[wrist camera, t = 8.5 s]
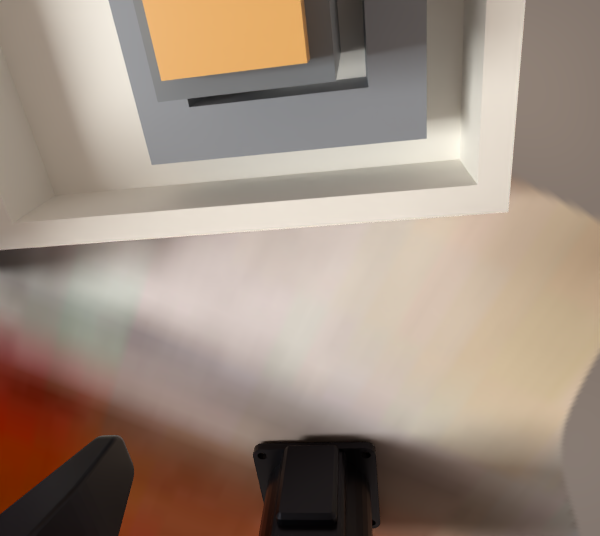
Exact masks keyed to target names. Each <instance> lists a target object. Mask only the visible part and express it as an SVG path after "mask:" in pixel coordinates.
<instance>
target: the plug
mask: <svg viewBox="0 0 600 536" xmlns="http://www.w3.org/2000/svg"><path fill="white" fill-rule="evenodd" d="M133 4H134V8H135V12H136V16H137V20H138V24H139V28H140V32H141V36H142V40H143V44H144V48H145V52H146V56H147V60H148V64H149V68H150V73H151V77H152V81H153V85H154V89H155V93H156V97H157V101H158V102H165V101H173V100H182V99H190V98H199V97H207V96H216V95H224V94H233V93H241V92H250V91H258V90H267V89H275V88H284V87H292V86H300V85H309V84H317V83H326V82H334V81H336V78H337V73H338V67H339V62H340V56H341V45H340V32H339V20H338V7H337V0H133Z"/></svg>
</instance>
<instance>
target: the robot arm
mask: <svg viewBox="0 0 600 536" xmlns="http://www.w3.org/2000/svg"><path fill="white" fill-rule="evenodd" d="M365 451H366V452H365ZM263 453H264V454H263ZM253 458H254V463H255V467H256V471H257V476H258V480H259V484H260V489H261V493H262V497H263V502H264V508H263V514H262V519H261V525H260V531H259V536H372V528H376V527H378V526H379V525H380V513H379V498H378V483H377V468H376V453H375V447H374V445H373V444H371V443H368V442H339V443H275V444H258V445H256V446H255V448H254V452H253ZM133 477H134V467H133V463H132V461H131V458H130V456H129V453H128V451H127V448H126V446H125V443H124V441H123V439H122V438H121V437H120V436H118V435H109V436H99V437H97V438H96V439H94V440H93V441H92V442H90V443H89V444H88V445H87V446H85V447H84V448H83V449H82V450H80V451H79V452H78V453H77V454H75V455H74V456H73V457H72V458H70V459H69V460H68V461H67V462H65V463H64V464H63V465H62V466H60V467H59V468H58V469H57V470H55V471H54V472H53V473H51V474H50V475H49V476H48V477H46V478H45V479H44V480H43V481H41V482H40V483H39V484H38V485H36V486H35V487H34V488H33V489H31V490H30V491H29V492H28V493H26V494H25V495H24V496H23V497H21V498H20V499H19V500H18V501H16V502H15V503H14V504H13V505H11V506H10V507H9V508H8V509H6V510H5V511H4V512H2V513H1V514H0V536H118V534H119V531H120V527H121V523H122V519H123V515H124V512H125V508H126V504H127V500H128V496H129V493H130V489H131V485H132V481H133Z"/></svg>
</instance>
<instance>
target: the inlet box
mask: <svg viewBox="0 0 600 536" xmlns="http://www.w3.org/2000/svg"><path fill="white" fill-rule="evenodd" d="M525 3H526V0H337V7H338V20H339V32H340V45H341V56H340V62H339V67H338V73H337V78H336V81H334V82H326V83H317V84H309V85H300V86H292V87H284V88H275V89H267V90H258V91H250V92H241V93H233V94H224V95H216V96H207V97H199V98H190V99H182V100H173V101H165V102H158V101H157V97H156V93H155V89H154V85H153V81H152V77H151V73H150V68H149V64H148V60H147V56H146V52H145V48H144V44H143V40H142V36H141V32H140V28H139V24H138V20H137V16H136V12H135V8H134V4H133V0H0V250H9V249H22V248H36V247H49V246H63V245H76V244H89V243H103V242H116V241H129V240H143V239H156V238H170V237H183V236H196V235H210V234H223V233H236V232H250V231H263V230H277V229H290V228H303V227H317V226H330V225H343V224H357V223H370V222H384V221H397V220H410V219H424V218H437V217H450V216H464V215H477V214H491V213H504V212H508V211H509V198H510V186H511V174H512V162H513V149H514V138H515V125H516V113H517V101H518V89H519V77H520V65H521V53H522V40H523V28H524V16H525Z"/></svg>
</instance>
